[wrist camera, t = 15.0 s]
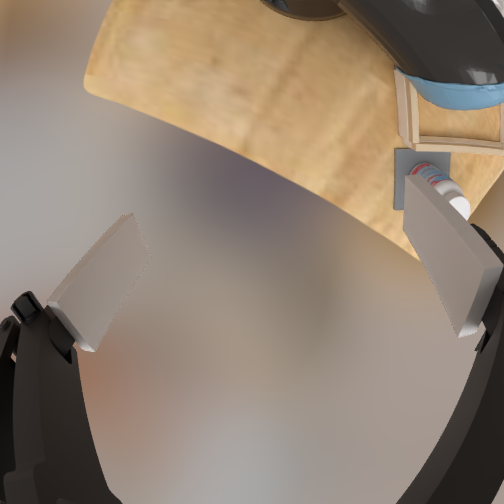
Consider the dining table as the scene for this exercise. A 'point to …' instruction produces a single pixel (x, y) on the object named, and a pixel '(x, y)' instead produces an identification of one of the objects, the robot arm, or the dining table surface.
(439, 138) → the beige frame
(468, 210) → the pill bottle
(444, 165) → the coaster
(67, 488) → the robot arm
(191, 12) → the dining table surface
